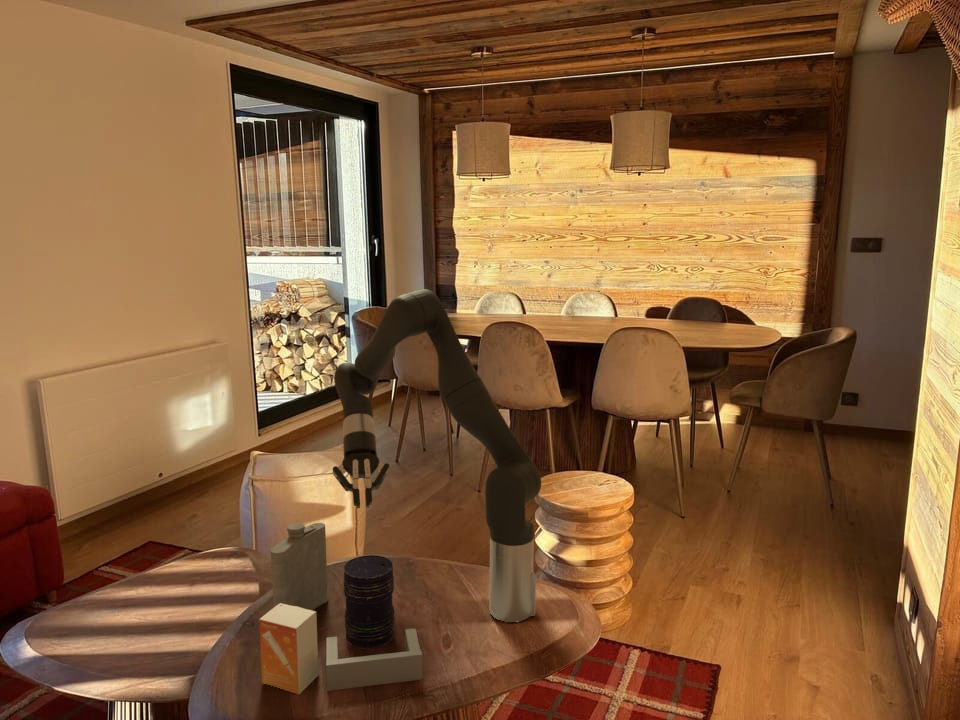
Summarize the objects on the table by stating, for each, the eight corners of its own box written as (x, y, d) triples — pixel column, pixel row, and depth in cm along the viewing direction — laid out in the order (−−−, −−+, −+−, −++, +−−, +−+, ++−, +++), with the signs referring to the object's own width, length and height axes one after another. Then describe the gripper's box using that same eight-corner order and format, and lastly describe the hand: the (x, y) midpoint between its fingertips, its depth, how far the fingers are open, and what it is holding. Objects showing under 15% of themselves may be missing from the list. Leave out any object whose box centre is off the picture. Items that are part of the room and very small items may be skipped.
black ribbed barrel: (346, 651, 141) (344, 580, 138) (343, 624, 150) (341, 557, 148) (397, 645, 143) (396, 575, 141) (392, 619, 153) (390, 552, 150)
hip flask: (283, 635, 147) (279, 542, 143) (267, 630, 148) (262, 538, 145) (330, 598, 161) (327, 513, 157) (315, 594, 163) (312, 510, 159)
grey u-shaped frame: (415, 646, 143) (415, 623, 142) (422, 679, 133) (422, 654, 132) (327, 656, 139) (326, 632, 138) (327, 690, 129) (326, 665, 128)
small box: (261, 685, 131) (257, 618, 128) (283, 665, 137) (279, 601, 134) (299, 696, 128) (296, 628, 125) (319, 675, 134) (317, 610, 131)
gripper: (329, 431, 166) (331, 501, 157) (389, 428, 169) (394, 497, 160) (330, 446, 172) (332, 515, 163) (387, 443, 175) (393, 511, 166)
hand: (363, 506), depth 161 cm, fingers closed
